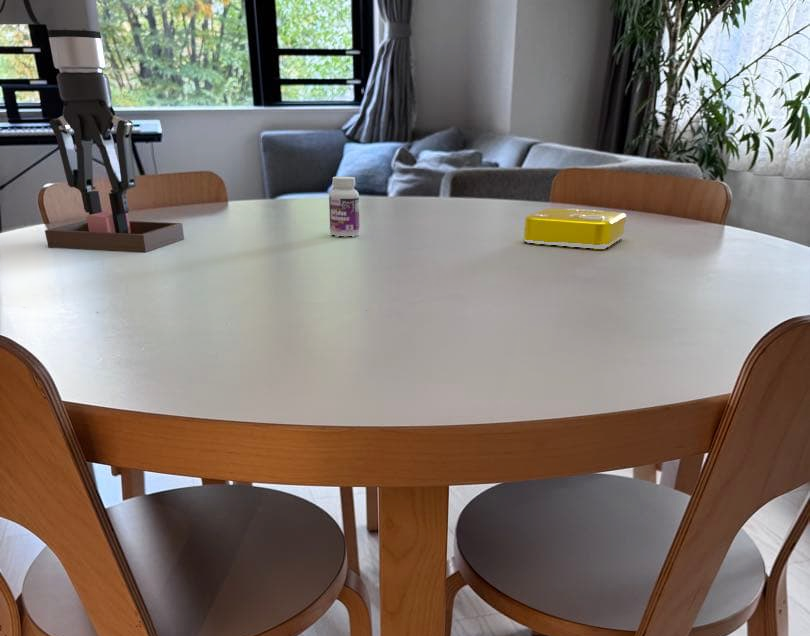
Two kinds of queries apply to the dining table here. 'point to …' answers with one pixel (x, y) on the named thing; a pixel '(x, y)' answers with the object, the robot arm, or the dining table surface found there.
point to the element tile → (574, 226)
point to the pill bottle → (344, 207)
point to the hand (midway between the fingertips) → (110, 233)
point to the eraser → (103, 222)
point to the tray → (116, 237)
